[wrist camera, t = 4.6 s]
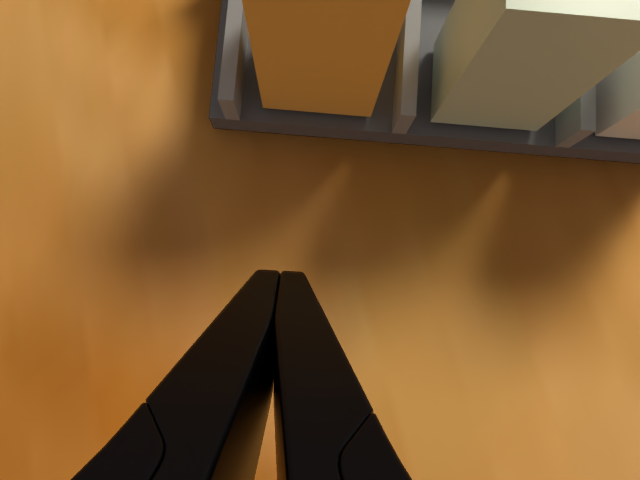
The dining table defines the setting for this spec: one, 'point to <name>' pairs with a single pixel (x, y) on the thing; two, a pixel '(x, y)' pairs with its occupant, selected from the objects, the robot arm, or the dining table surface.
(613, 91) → the white rectangular block
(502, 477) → the dining table surface
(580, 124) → the grey divided tray
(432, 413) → the dining table surface
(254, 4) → the orange block
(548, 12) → the pale green tall block
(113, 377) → the dining table surface
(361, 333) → the dining table surface
